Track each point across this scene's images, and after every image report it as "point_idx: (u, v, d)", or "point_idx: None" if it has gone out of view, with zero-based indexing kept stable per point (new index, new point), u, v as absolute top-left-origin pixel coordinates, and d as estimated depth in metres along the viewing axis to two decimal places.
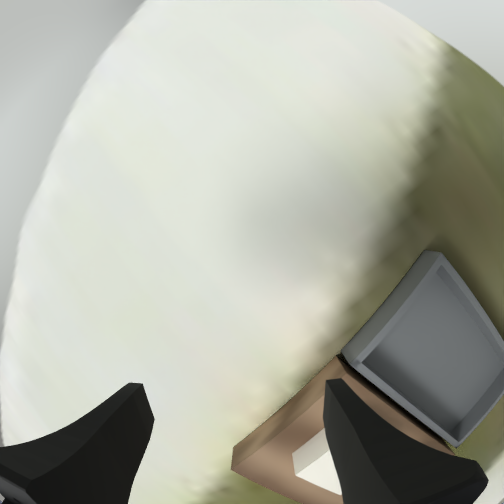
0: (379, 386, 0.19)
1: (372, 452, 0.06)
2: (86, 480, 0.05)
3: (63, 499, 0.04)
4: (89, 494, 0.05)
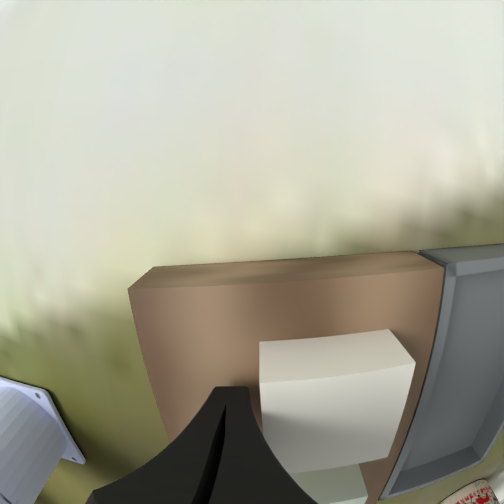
0: (438, 335, 0.11)
1: (228, 466, 0.06)
2: (208, 502, 0.05)
3: None
4: None
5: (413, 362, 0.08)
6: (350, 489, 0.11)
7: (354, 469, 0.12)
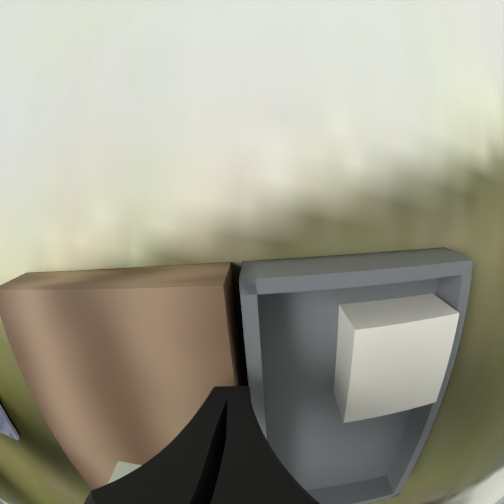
0: (249, 358, 0.11)
1: (229, 466, 0.06)
2: (206, 503, 0.05)
3: None
4: None
5: (340, 304, 0.13)
6: None
7: None
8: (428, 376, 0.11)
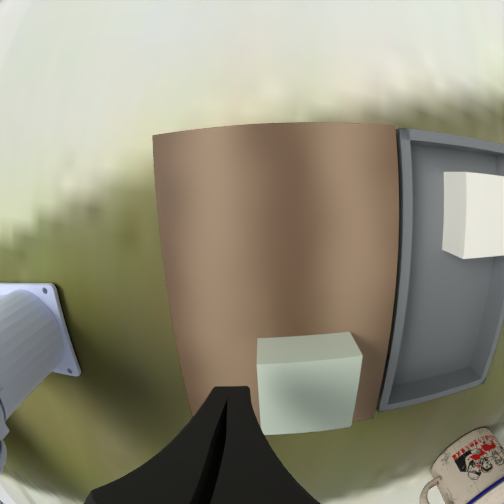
0: (405, 190, 0.14)
1: (229, 466, 0.06)
2: (207, 503, 0.05)
3: None
4: None
5: None
6: (343, 350, 0.14)
7: (346, 336, 0.15)
8: None
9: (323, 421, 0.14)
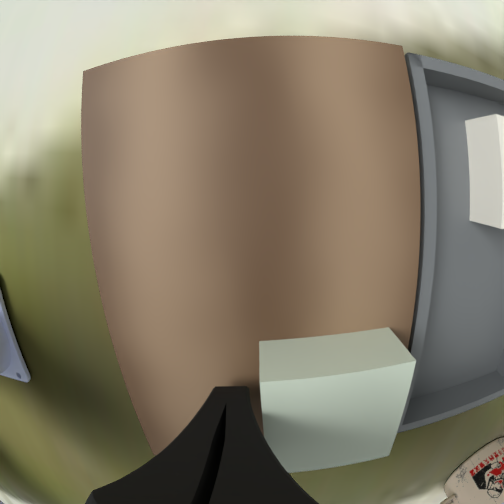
0: (423, 130, 0.09)
1: (228, 466, 0.06)
2: (208, 502, 0.05)
3: None
4: None
5: (466, 120, 0.11)
6: (387, 354, 0.09)
7: (386, 334, 0.10)
8: None
9: (354, 453, 0.09)
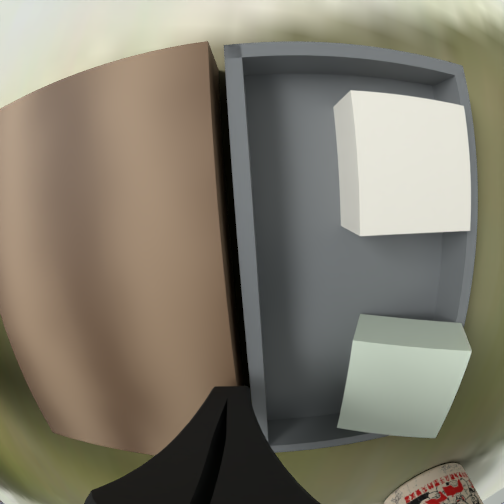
0: (232, 129, 0.10)
1: (229, 466, 0.06)
2: (207, 502, 0.05)
3: None
4: None
5: (335, 106, 0.11)
6: (375, 321, 0.12)
7: (361, 335, 0.11)
8: (452, 181, 0.09)
9: None
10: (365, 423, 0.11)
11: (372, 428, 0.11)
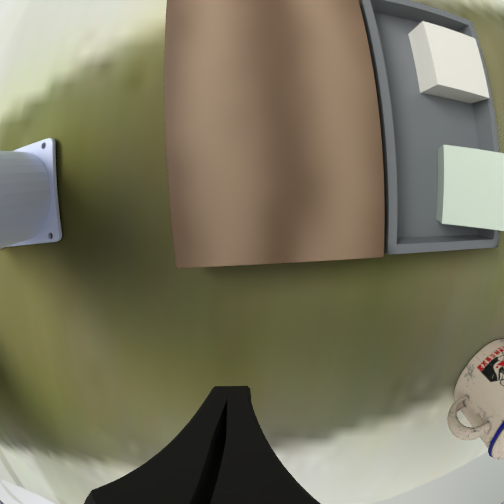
0: (370, 26, 0.14)
1: (229, 466, 0.06)
2: (206, 503, 0.05)
3: None
4: None
5: (409, 34, 0.15)
6: None
7: None
8: (475, 71, 0.13)
9: None
10: (460, 216, 0.15)
11: (465, 221, 0.15)
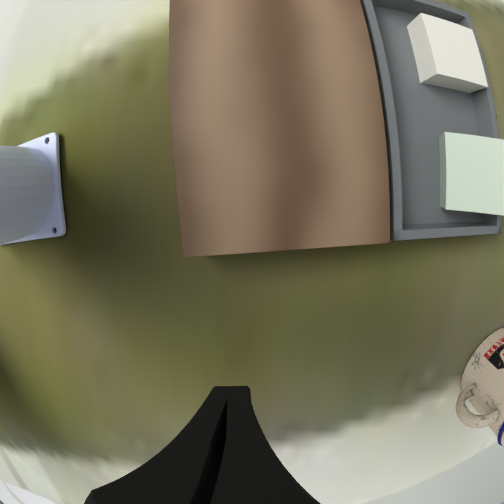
0: (370, 18, 0.14)
1: (229, 466, 0.06)
2: (207, 503, 0.05)
3: None
4: None
5: (407, 26, 0.15)
6: None
7: None
8: (473, 60, 0.13)
9: None
10: (463, 201, 0.15)
11: (469, 206, 0.15)
